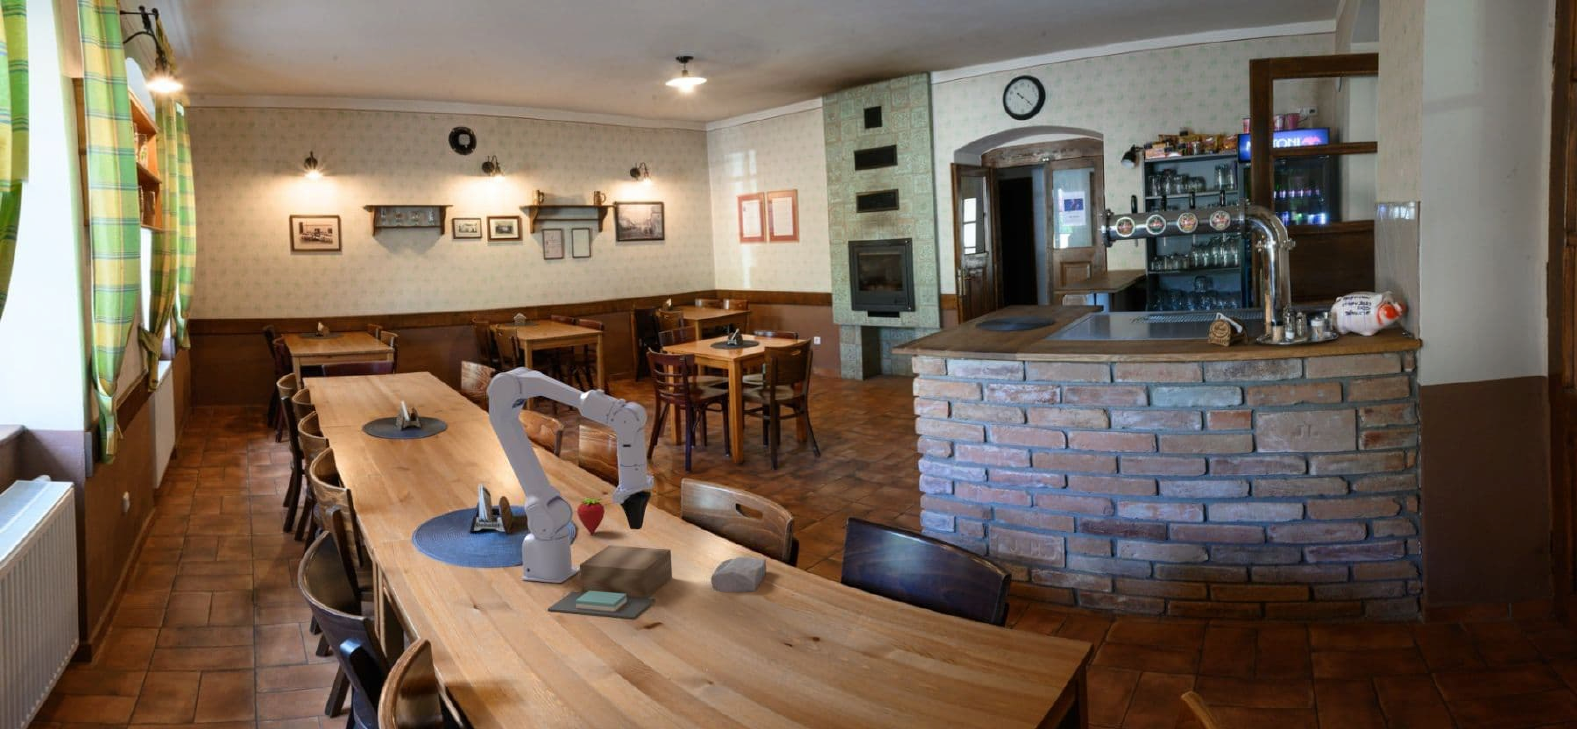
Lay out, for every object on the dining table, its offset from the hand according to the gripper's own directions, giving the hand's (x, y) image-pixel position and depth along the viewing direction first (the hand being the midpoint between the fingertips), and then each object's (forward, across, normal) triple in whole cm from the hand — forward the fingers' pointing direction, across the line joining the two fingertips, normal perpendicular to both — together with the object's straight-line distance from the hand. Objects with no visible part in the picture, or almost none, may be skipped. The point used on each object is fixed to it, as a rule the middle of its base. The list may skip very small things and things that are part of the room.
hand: (636, 528), depth 187 cm
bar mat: (+10, -16, 0) cm, 19 cm away
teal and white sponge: (+8, -16, 0) cm, 18 cm away
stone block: (+11, +2, -21) cm, 24 cm away
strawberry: (+11, +25, +25) cm, 37 cm away
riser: (+10, -5, 0) cm, 12 cm away
